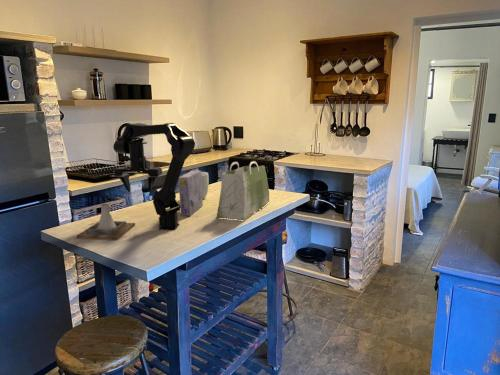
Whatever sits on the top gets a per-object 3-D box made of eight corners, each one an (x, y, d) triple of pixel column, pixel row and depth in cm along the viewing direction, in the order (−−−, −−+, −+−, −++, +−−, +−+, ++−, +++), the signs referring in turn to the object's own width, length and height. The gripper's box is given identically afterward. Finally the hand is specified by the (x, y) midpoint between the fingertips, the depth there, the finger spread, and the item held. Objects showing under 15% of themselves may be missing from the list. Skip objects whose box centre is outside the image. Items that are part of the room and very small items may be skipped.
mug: (188, 194, 203) (186, 170, 200) (208, 193, 205) (207, 169, 202) (188, 201, 189) (186, 176, 186) (209, 200, 190) (208, 175, 187)
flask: (118, 229, 145) (116, 205, 143) (99, 233, 141) (96, 208, 139) (114, 224, 151) (111, 201, 149) (95, 228, 147) (92, 204, 145)
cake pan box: (194, 204, 183) (192, 169, 179) (204, 205, 182) (202, 169, 178) (179, 216, 165) (177, 177, 160) (190, 217, 164) (188, 177, 159)
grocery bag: (244, 200, 190) (244, 155, 184) (270, 203, 184) (270, 156, 179) (214, 218, 161) (213, 166, 156) (244, 222, 156) (243, 168, 150)
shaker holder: (135, 225, 153) (134, 219, 152) (117, 239, 138) (116, 233, 137) (98, 224, 155) (97, 218, 154) (76, 238, 139) (75, 231, 139)
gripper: (165, 152, 158) (167, 187, 161) (123, 151, 160) (126, 187, 164) (156, 156, 147) (158, 194, 151) (111, 155, 149) (115, 193, 153)
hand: (139, 191), depth 155 cm, fingers open, 9 cm apart
